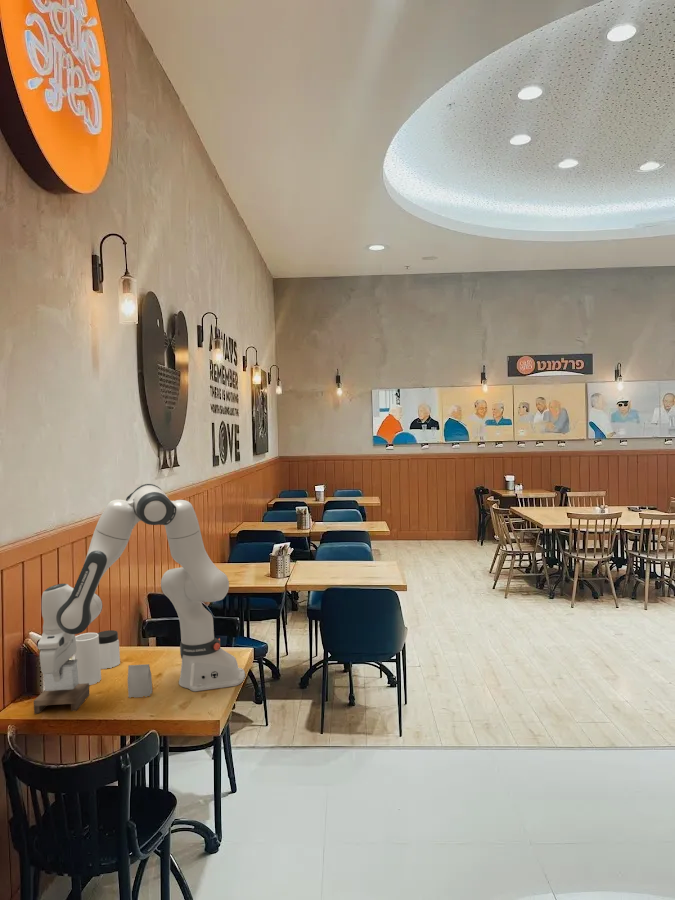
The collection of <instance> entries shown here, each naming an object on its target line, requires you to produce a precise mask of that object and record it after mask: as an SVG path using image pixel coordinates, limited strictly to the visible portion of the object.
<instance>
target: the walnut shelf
mask: <svg viewBox="0 0 675 900" xmlns="http://www.w3.org/2000/svg"><path fill="white" fill-rule="evenodd" d="M90 695H91V694H90V685H89V683H84V684H78V685H77V686H76V687H75V688H74V689H70V690H55V691H45V689H44V690H43V691H42V692H41V693H40V694H39V695H38V696H37V697H36V698H35V699H34V700H33V712H34V713H33V714H41V712H42V711H43V710H44V709H45V708H46V707H47V706H55V705H56V706H57V705H58V706H59V705H70V712H77V711H78V710H79V708H80V707H81V706H82V705H83V703H84V702H85V701H86V700H87V699H88V698H87V697H89V696H90ZM86 698H87V699H86ZM85 699H86V700H85Z"/></svg>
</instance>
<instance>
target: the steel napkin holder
mask: <svg viewBox="0 0 675 900" xmlns="http://www.w3.org/2000/svg"><path fill="white" fill-rule="evenodd" d="M59 673H60V674H61V680H60V681H59V682H54V676H53V675H52V674H43V681H44V683H43V684H44V685H43V686H44V690H45V691H55V690H70V689H74V688H75V687H76V686H77V685H78V684H79V683H78V668H77V659H76V660H75V659H69V660H67V661H66V662H65V663H64V664H63V665H62V666H61V667H60V670H59Z"/></svg>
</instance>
